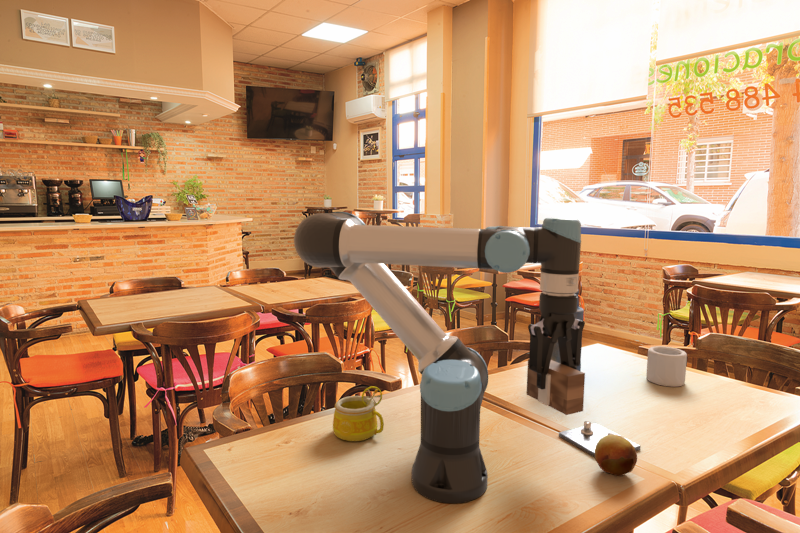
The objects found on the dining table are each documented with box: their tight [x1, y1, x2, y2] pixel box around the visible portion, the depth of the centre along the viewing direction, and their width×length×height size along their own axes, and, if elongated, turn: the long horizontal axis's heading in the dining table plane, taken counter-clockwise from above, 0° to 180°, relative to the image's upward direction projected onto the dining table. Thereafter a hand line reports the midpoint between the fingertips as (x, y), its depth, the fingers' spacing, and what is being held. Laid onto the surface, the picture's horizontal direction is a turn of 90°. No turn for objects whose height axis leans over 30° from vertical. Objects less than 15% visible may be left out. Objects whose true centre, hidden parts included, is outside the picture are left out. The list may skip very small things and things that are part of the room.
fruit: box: [594, 434, 638, 477], centre depth 102 cm, size 8×8×8 cm
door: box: [526, 358, 586, 416], centre depth 105 cm, size 12×4×8 cm, turn 26°
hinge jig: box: [558, 420, 641, 458], centre depth 116 cm, size 12×13×4 cm
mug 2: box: [645, 345, 688, 388], centre depth 157 cm, size 14×11×10 cm
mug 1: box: [332, 385, 385, 442], centre depth 119 cm, size 13×11×12 cm
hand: (553, 400), depth 106 cm, fingers closed on door, 4 cm apart
